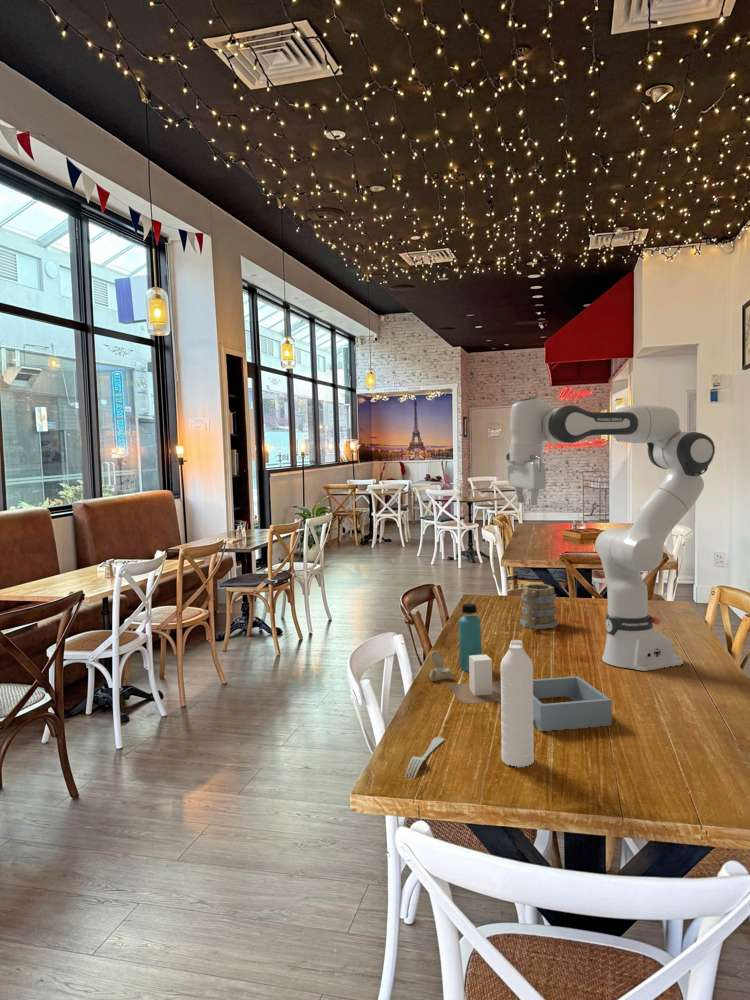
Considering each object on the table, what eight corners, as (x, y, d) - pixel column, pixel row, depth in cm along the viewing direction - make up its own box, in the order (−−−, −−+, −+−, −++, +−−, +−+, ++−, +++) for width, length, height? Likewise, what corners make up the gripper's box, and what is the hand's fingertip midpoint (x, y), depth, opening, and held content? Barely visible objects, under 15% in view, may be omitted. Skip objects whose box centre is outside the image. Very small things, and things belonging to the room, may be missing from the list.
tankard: (529, 618, 255) (529, 579, 254) (562, 623, 247) (562, 582, 246) (506, 631, 239) (506, 588, 238) (541, 635, 231) (540, 592, 230)
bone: (451, 684, 180) (433, 650, 183) (432, 694, 183) (414, 660, 185) (461, 677, 188) (444, 644, 190) (443, 686, 191) (426, 654, 193)
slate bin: (578, 699, 172) (578, 676, 172) (611, 725, 155) (611, 699, 155) (513, 704, 169) (513, 681, 169) (540, 732, 153) (540, 705, 152)
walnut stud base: (498, 686, 183) (497, 668, 182) (516, 705, 169) (516, 685, 169) (447, 690, 181) (447, 672, 180) (462, 709, 167) (461, 690, 167)
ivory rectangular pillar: (486, 688, 177) (486, 654, 177) (492, 694, 173) (491, 659, 172) (469, 689, 177) (468, 655, 176) (474, 695, 172) (474, 660, 171)
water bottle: (502, 752, 143) (500, 635, 141) (534, 755, 141) (533, 636, 139) (500, 771, 134) (498, 647, 133) (533, 774, 133) (532, 649, 131)
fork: (447, 750, 151) (447, 737, 151) (414, 782, 132) (415, 767, 132) (435, 748, 152) (435, 735, 152) (401, 779, 133) (401, 765, 133)
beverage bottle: (481, 677, 190) (480, 607, 189) (458, 676, 192) (456, 606, 190) (482, 670, 197) (481, 602, 195) (459, 669, 198) (458, 601, 196)
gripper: (551, 454, 183) (552, 506, 183) (523, 455, 203) (524, 501, 204) (529, 455, 182) (530, 507, 183) (503, 455, 202) (504, 501, 203)
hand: (526, 503), depth 193 cm, fingers open, 8 cm apart
